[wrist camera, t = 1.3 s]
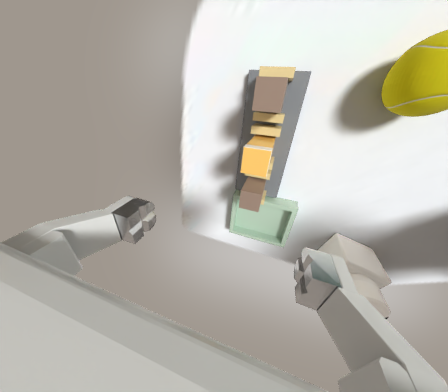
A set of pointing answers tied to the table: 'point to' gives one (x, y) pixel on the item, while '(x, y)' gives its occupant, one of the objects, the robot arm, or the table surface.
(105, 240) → the robot arm
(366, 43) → the table surface
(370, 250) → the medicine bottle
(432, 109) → the tennis ball
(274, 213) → the tray
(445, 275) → the table surface
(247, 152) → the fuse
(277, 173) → the holder
